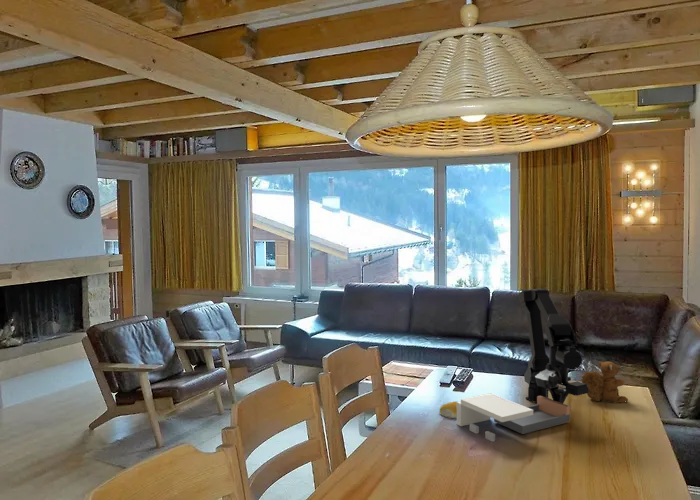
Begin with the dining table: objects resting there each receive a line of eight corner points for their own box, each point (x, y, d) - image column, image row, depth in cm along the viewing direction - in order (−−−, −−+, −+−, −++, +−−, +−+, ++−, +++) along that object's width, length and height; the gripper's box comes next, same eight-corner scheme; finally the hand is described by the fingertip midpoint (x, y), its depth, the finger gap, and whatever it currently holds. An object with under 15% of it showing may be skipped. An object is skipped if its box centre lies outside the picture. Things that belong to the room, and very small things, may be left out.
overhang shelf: (486, 417, 186) (486, 391, 185) (533, 438, 168) (533, 409, 168) (456, 424, 180) (456, 397, 180) (502, 446, 163) (502, 417, 162)
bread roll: (471, 413, 190) (471, 401, 190) (456, 420, 184) (456, 408, 184) (450, 407, 196) (450, 396, 196) (435, 414, 190) (435, 402, 189)
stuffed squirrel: (630, 402, 199) (631, 365, 198) (592, 405, 197) (593, 367, 196) (613, 393, 209) (613, 357, 208) (576, 396, 207) (577, 359, 206)
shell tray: (540, 410, 190) (540, 395, 190) (569, 421, 180) (570, 406, 180) (494, 421, 181) (494, 405, 181) (522, 434, 170) (522, 417, 170)
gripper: (518, 358, 189) (518, 405, 190) (564, 371, 173) (564, 422, 174) (542, 353, 194) (542, 399, 195) (590, 366, 178) (589, 416, 179)
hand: (558, 409), depth 186 cm, fingers closed
